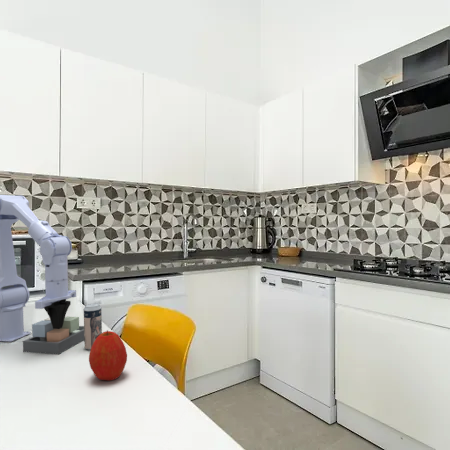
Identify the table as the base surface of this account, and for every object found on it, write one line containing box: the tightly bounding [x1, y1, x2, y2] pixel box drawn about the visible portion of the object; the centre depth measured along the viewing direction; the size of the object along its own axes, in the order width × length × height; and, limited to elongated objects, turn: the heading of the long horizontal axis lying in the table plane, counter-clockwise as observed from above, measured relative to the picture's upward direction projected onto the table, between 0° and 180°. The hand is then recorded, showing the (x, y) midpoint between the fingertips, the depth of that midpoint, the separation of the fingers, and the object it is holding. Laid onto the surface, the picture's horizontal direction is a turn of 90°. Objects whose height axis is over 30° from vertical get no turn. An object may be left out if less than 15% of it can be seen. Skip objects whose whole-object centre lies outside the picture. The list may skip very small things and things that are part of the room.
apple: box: [88, 330, 128, 381], centre depth 79 cm, size 8×8×11 cm
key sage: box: [62, 316, 80, 333], centre depth 102 cm, size 4×4×3 cm
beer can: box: [83, 303, 103, 351], centre depth 98 cm, size 5×5×12 cm
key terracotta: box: [47, 328, 69, 342], centre depth 98 cm, size 4×4×3 cm
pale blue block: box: [31, 319, 53, 337], centre depth 99 cm, size 4×4×3 cm
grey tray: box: [22, 325, 84, 355], centre depth 102 cm, size 11×15×3 cm
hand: (57, 328), depth 98 cm, fingers closed
